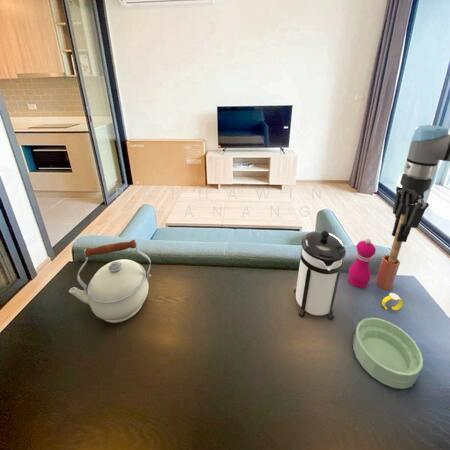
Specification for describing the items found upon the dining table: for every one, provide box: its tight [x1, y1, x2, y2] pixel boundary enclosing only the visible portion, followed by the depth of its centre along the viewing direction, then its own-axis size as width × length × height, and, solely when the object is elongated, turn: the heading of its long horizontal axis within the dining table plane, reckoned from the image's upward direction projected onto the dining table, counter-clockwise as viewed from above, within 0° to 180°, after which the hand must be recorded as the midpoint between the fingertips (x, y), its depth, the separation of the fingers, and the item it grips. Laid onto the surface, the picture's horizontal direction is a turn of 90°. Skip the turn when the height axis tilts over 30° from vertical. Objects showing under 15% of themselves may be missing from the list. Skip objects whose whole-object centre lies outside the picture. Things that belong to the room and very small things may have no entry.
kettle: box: [68, 239, 152, 324], centre depth 79 cm, size 25×18×25 cm
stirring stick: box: [388, 214, 405, 264], centre depth 86 cm, size 2×2×26 cm
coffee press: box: [293, 230, 347, 321], centre depth 80 cm, size 17×16×30 cm
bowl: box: [352, 317, 424, 390], centre depth 67 cm, size 15×15×6 cm
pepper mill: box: [347, 238, 376, 289], centre depth 90 cm, size 7×7×20 cm
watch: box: [381, 292, 404, 311], centre depth 82 cm, size 6×3×6 cm, turn 87°
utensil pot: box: [375, 254, 401, 291], centre depth 90 cm, size 5×5×12 cm
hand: (398, 238), depth 85 cm, fingers closed on stirring stick, 2 cm apart
